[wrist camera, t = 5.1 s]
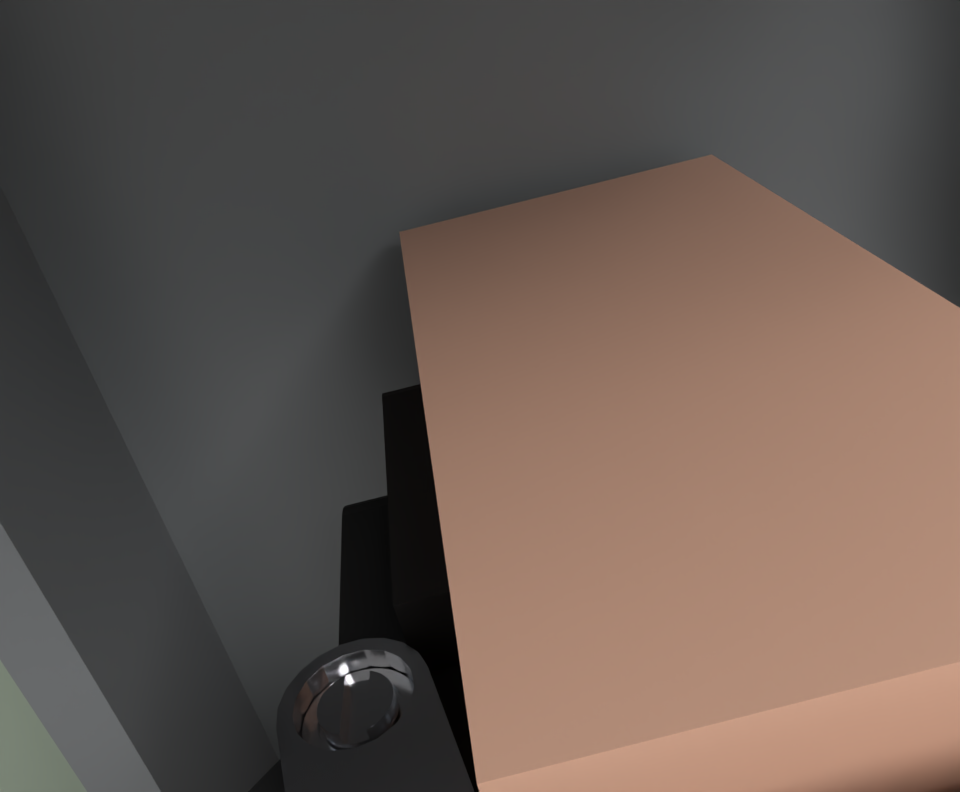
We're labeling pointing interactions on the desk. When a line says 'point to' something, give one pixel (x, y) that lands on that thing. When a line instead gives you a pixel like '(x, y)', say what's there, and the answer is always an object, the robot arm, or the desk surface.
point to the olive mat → (29, 747)
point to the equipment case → (337, 288)
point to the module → (692, 492)
